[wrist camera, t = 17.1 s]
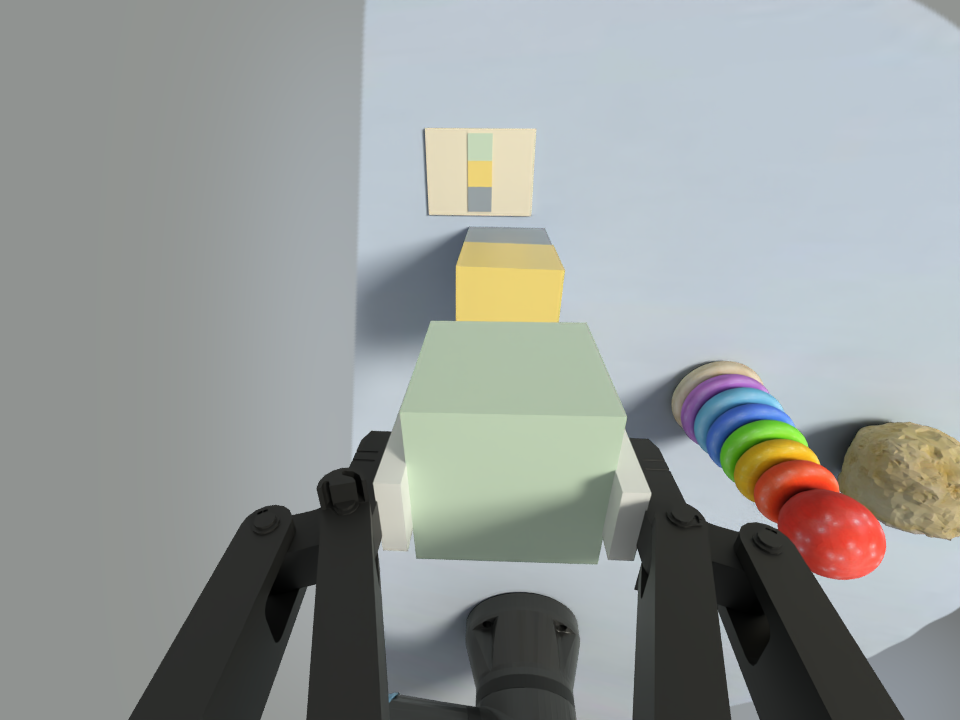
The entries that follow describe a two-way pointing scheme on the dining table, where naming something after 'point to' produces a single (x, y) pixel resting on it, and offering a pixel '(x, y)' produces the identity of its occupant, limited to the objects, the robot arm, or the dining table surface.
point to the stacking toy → (777, 469)
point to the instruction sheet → (480, 171)
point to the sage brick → (510, 442)
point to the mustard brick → (508, 283)
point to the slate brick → (508, 235)
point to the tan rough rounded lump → (906, 477)
